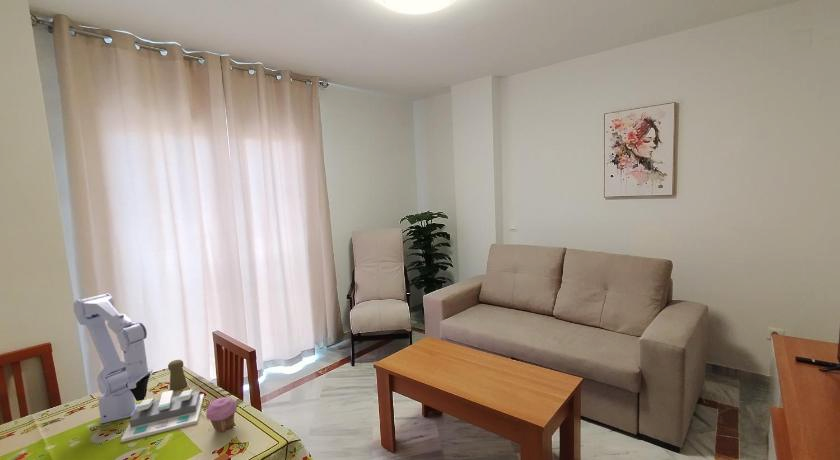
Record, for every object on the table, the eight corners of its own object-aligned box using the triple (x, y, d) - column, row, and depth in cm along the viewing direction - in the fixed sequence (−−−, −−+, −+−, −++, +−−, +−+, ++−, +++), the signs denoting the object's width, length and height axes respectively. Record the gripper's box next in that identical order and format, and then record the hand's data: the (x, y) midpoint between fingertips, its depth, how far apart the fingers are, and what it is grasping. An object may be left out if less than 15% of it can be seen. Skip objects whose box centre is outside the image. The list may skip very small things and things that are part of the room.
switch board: (121, 442, 118) (119, 432, 118) (137, 411, 135) (136, 402, 134) (197, 423, 127) (196, 413, 126) (204, 396, 143) (203, 387, 143)
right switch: (178, 404, 130) (178, 398, 130) (183, 397, 137) (182, 391, 137) (189, 402, 131) (188, 395, 131) (193, 395, 138) (192, 388, 139)
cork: (178, 391, 147) (175, 365, 146) (165, 390, 148) (162, 364, 147) (190, 383, 153) (187, 358, 152) (178, 382, 154) (175, 357, 153)
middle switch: (158, 413, 128) (157, 407, 127) (163, 397, 135) (162, 392, 134) (169, 410, 129) (168, 405, 129) (173, 395, 136) (172, 389, 136)
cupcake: (223, 438, 118) (219, 409, 117) (202, 434, 121) (198, 405, 119) (244, 421, 126) (241, 394, 125) (224, 417, 129) (221, 390, 128)
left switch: (136, 414, 125) (136, 407, 125) (143, 406, 132) (143, 399, 133) (148, 411, 126) (147, 404, 127) (154, 403, 134) (154, 397, 134)
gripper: (144, 367, 119) (149, 406, 121) (155, 349, 132) (160, 385, 134) (117, 372, 116) (123, 412, 118) (131, 353, 130) (136, 390, 131)
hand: (141, 398), depth 126 cm, fingers closed
